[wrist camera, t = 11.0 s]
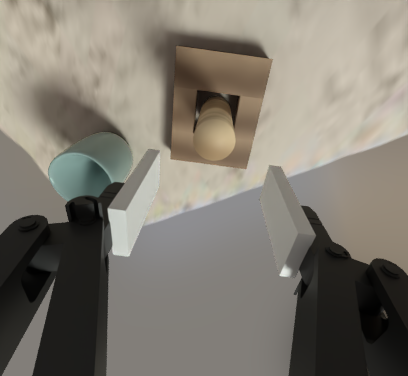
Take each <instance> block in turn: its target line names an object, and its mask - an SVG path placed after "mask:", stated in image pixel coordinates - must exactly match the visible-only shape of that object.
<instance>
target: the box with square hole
mask: <svg viewBox="0 0 408 376" xmlns="http://www.w3.org/2000/svg"><path fill="white" fill-rule="evenodd" d="M272 60H273V59H269V58H263V57H255V56H248V55H241V54H234V53H227V52H220V51H213V50H206V49H199V48H191V47H184V46H176V59H175V79H174V99H173V119H172V140H171V159H174V160H181V161H189V162H196V163H204V164H211V165H219V166H226V167H234V168H241V169H246V168H247V164H248V160H249V156H250V152H251V148H252V143H253V139H254V135H255V131H256V127H257V123H258V118H259V114H260V110H261V106H262V102H263V98H264V93H265V89H266V85H267V81H268V77H269V73H270V68H271V64H272ZM198 90H202V91H209V92H216V93H223V94H231V95H238V101H237V106H236V112H235V117H234V123H233V127H234V132H235V139H236V142H235V147H234V149H233V151H232V152H231V154H230V155H228V156H227V157H226V158H224V159H222V160H217V161H211V160H207V159H205V158H203V157H201V156H200V155H199V154H198V153H197V152H196V150H195V148H194V145H193V136H194V132H195V129H196V127H194V126H195V116H196V106H197V96H198Z"/></svg>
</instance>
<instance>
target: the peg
mask: <svg viewBox="0 0 408 376" xmlns="http://www.w3.org/2000/svg"><path fill="white" fill-rule="evenodd" d="M235 142H236V139H235V132H234V127H233V121H232V115H231V110H230V105H229V103H228V101H227V100H226V99H225V98H223V97H221V96H211V97H209V98H207V99H206V100H205V101H204V103H203V105H202V108H201V111H200V115H199V118H198V122H197V125H196V129H195V132H194V136H193V145H194V148H195V150H196V152H197V153H198V154H199V155H200V156H201V157H203V158H205V159H207V160H211V161H217V160H222V159H224V158H226V157H227V156H228V155H230V154H231V152H232V151H233V149H234V147H235Z"/></svg>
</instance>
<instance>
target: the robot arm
mask: <svg viewBox="0 0 408 376" xmlns="http://www.w3.org/2000/svg"><path fill="white" fill-rule="evenodd" d="M159 180H160V150H153V149H148V151H147V152H146V154H145V155H144V156H143V158H142V159H141V161H140V162H139V164H138V165H137V167H136V168H135V169H134V171H133V172H132V174H131V175H130V177H129V178H128V180H127V181H126V182H125V183H121V182H113V183H112V184H110V185H108V186H107V187H106V188H105V189H104V191H103V192H102V193H101V194H100V195H99V197H98V198H97V197H95V196H90V195H84V196H78V197H76V198H73V199H71V200H70V201H68V202H67V204H66V205H65V207H66V212H67V216H68V220H69V222H65V223H54V224H48V221H47V218H45V217H44V216H40V215H30V216H26V217H22V218H20V219H18V220H16V221H14V222H13V223H12V224H11V225H9V227H8V228H7V229H6V230H5V231H4V232H3V233H2V234H1V235H0V376H2V374H3V372H4V370H5V368H6V367H7V365H8V362H9V361H10V359H11V357H12V355H13V354H14V352H15V350H16V348H17V346H18V345H19V343H20V341H21V339H22V337H23V335H24V334H25V332H26V330H27V328H28V326H29V324H30V323H31V321H32V319H33V317H34V315H35V313H36V311H37V310H38V308H39V306H40V304H41V302H42V301H43V299H44V297H45V295H46V293H47V292H48V290H49V288H50V286H51V284H52V282H53V280H54V279H55V283H54V287H53V291H52V295H51V300H50V304H49V308H48V312H47V317H46V321H45V325H44V329H43V333H42V337H41V342H40V346H39V350H38V354H37V359H36V363H35V367H34V371H33V375H32V376H106V365H107V318H108V317H107V316H108V314H107V313H108V274H109V258H108V253H109V251H110V249H111V247H112V250H113V255H120V256H128V257H129V255H130V253H131V250H132V248H133V246H134V243H135V241H136V239H137V237H138V234H139V232H140V230H141V227H142V225H143V223H144V221H145V218H146V216H147V214H148V211H149V209H150V207H151V204H152V202H153V200H154V197H155V195H156V193H157V190H158V188H159ZM259 200H260V204H261V207H262V211H263V215H264V219H265V223H266V227H267V230H268V234H269V237H270V241H271V246H272V249H273V253H274V257H275V261H276V265H277V268H278V272H279V276H285V277H293V278H295V277H296V275H297V273H298V271H299V270H300V273H301V276H302V278H301V281H300V282H299V284H298V286H297V288H296V290H295V292H294V295H296V294H297V292H298V297H297V306H296V315H295V323H294V332H293V342H292V350H291V360H290V368H289V376H368V372H367V368H368V371H369V374H370V376H408V275H407V274H406V273H405V272H404V271H403V270H402V269H401V268H400V267H398V266H397V265H396V264H394V263H392V262H390V261H387V260H384V259H374V260H373V261H372V262H371V263H370V265H368V264H366V263H363V262H360V261H357V260H354V259H352V258H351V256H350V254H349V252H348V251H347V250H346V249H345V248H343V247H342V246H341V245H339V244H336V243H334V242H332V240H331V238H330V237H329V235H328V233H327V231H326V230H325V228H324V226H322V223H321V221H320V220H319V218H318V216H317V214H316V213H315V212H314V211H313V210H312V209H311V208H310V207H308V206H301V205H300V203H299V201H298V199H297V197H296V195H295V193H294V192H293V190H292V188H291V186H290V184H289V182H288V180H287V178H286V176H285V174H284V172H283V170H282V168H281V167H279V166H272V165H269V168H268V172H267V175H266V178H265V182H264V185H263V189H262V192H261V196H260V199H259ZM55 277H56V278H55ZM384 310H385V311H386V314H387V316H388V318H386V317H385V315H384V313H383V311H384Z"/></svg>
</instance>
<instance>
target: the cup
mask: <svg viewBox="0 0 408 376" xmlns="http://www.w3.org/2000/svg"><path fill="white" fill-rule="evenodd" d="M132 165H133V154H132V151H131V149H130V147H129V145H128V144H127V143H126V141H125V140H124V139H122V138H121V137H120V136H118V135H117V134H114V133H111V132H99V133H95V134H92V135H89V136H87V137H85V138H83V139H81V140H79V141H78V142H76V143H75V144H73V145H71V146H70V147H68V148H67V149H65V150H64V151H63V152H61V153H60V154H59V155H57V156H56V157H55V158H54V159H53V161H52V162H51V163H50V166H49V169H48V175H49V180H50V182H51V184H52V186H53V187H54V189H55V190H56V191H57V192H58V193H59V195H61V196H62V197H63V198H64V199H65V200H67V201H70V200H71V199H73V198H76V197H78V196H84V195H90V196H95V197H97V198H98V197H99V195H100V194H101V193H102V192H103V191H104V189H105V188H106V187H107V186H108V185H110V184H112V183H113V182H121V183H124V181H125V180H126V178H127V176H128V175H129V173H130V171H131V168H132Z"/></svg>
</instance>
